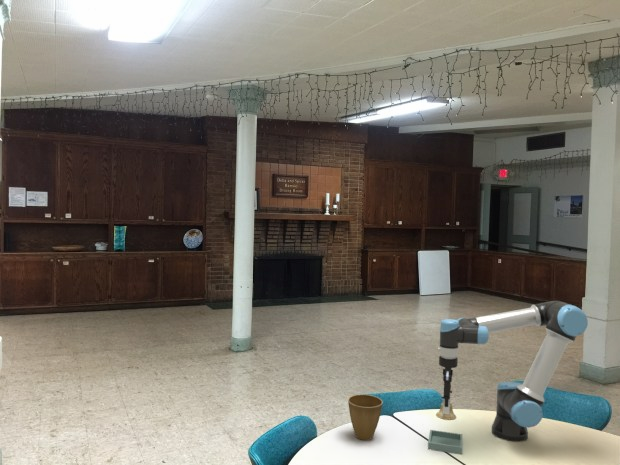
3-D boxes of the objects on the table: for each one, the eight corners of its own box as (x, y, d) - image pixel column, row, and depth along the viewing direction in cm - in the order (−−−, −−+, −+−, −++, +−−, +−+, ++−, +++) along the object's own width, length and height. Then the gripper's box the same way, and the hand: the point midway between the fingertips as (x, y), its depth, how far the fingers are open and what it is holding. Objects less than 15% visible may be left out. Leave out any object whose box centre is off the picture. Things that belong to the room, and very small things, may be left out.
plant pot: (340, 435, 223) (341, 399, 222) (363, 426, 232) (364, 392, 232) (365, 447, 211) (366, 409, 211) (388, 438, 221) (389, 401, 221)
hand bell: (454, 413, 219) (455, 376, 219) (458, 421, 211) (459, 382, 210) (434, 412, 220) (436, 375, 219) (437, 419, 212) (438, 381, 211)
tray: (462, 440, 220) (462, 434, 220) (462, 454, 207) (462, 447, 207) (429, 435, 224) (430, 429, 224) (427, 449, 211) (428, 442, 211)
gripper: (440, 350, 225) (438, 402, 225) (438, 361, 207) (436, 417, 208) (457, 352, 223) (455, 404, 223) (457, 363, 205) (455, 420, 205)
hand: (446, 410), depth 215 cm, fingers closed on hand bell, 6 cm apart
